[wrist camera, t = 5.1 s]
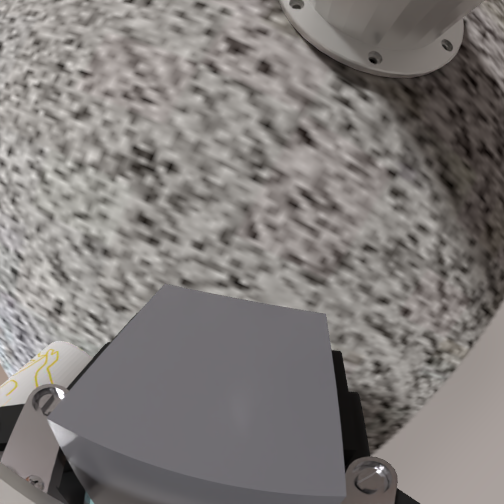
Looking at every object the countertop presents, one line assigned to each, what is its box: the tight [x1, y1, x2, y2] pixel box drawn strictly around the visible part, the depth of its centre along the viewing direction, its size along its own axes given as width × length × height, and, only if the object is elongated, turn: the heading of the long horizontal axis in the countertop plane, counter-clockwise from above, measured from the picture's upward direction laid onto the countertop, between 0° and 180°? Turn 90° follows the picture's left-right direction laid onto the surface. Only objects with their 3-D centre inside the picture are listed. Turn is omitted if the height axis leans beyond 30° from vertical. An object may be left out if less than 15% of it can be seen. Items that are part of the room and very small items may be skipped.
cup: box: [0, 341, 93, 407], centre depth 18 cm, size 8×8×12 cm
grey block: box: [47, 284, 346, 504], centre depth 7 cm, size 5×5×6 cm
